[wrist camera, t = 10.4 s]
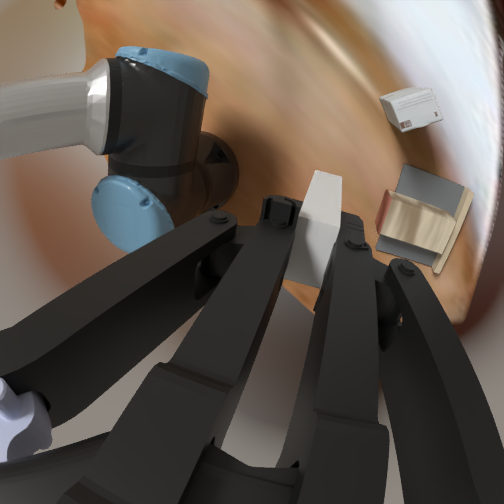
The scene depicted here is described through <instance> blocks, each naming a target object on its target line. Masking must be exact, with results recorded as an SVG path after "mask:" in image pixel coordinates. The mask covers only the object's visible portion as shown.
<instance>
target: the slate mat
mask: <svg viewBox="0 0 504 504" xmlns="http://www.w3.org/2000/svg"><path fill="white" fill-rule="evenodd" d="M395 192H396V193H399V194H402V195H404V196H407V197H410V198H413V199H416V200H419V201H421V202H424V203H427V204H430V205H432V206H435V207H438V208H440V209H443V210H445V211H448V212H449V213H450V215H451V216H452V217H453V219H454V220H455V221H456V224H455V226H454V229H453V231H452V233H451V236H450V238H449V240H448V242H447V244H446V247H445V249H444V251H443V253H442V254H440V253H437V252H434V251H431V250H428V249H425V248H422V247H419V246H416V245H413V244H410V243H407V242H404V241H401V240H398V239H395V238H391V237H388V236H385V235H382V234H381V235H380V237H379V240H378V243H377V245H376V250H380V251H383V252H386V253H390V254H393V255H396V256H400V257H403V258H406V259H410V260H413V261H416V262H419V263H423V264H426V265H429V266H432V269H433V271H434V272H435V273H438V274H439V273H440V271H441V269H442V267H443V265H444V263H445V261H446V259H447V257H448V255H449V253H450V251H451V249H452V247H453V244H454V242H455V240H456V238H457V235H458V233H459V231H460V229H461V226H462V224H463V221H464V219H465V216H466V214H467V211H468V209H469V206H470V204H471V201H472V198H473V196H474V193H473V192H472V191H471V190H470V189H468V188H466V187H464V186H461V185H459V184H456V183H454V182H452V181H449V180H447V179H444V178H442V177H439V176H437V175H434V174H431V173H429V172H426V171H423V170H421V169H418V168H415V167H412V166H409V165H407V164H404V165H403V168H402V172H401V175H400V178H399V181H398V185H397V188H396V191H395Z"/></svg>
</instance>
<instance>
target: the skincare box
mask: <svg viewBox="0 0 504 504" xmlns="http://www.w3.org/2000/svg"><path fill="white" fill-rule="evenodd" d="M379 99H380V101H381V103H382V106H383V108H384V110H385V113H386V115H387V118H388V121H389V122H391V123H392V124H393V125H394V126H396V127H397V128H398V129H399V130H400V131H401V132H406V131H409V130H412V129H415V128H419V127H424V126H427V125H429V124H431V123H435V122H438V121H441V120H443V117H442V114H441V111H440V109H439V106H438V103H437V101H436V98H435V96H434V93H433V91H432V89H431V88H413V87H411V88H406V89H402V90H399V91H395V92H392V93H390V94H387V95H384V96H382V97H379Z"/></svg>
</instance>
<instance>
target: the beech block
mask: <svg viewBox="0 0 504 504" xmlns="http://www.w3.org/2000/svg"><path fill="white" fill-rule="evenodd" d="M375 224H376V229H377V233H379V234H382V235H385V236H388V237H391V238H395V239H398V240H401V241H404V242H407V243H410V244H413V245H416V246H419V247H422V248H425V249H428V250H431V251H434V252H437V253H440V254H442V253H443V251H444V249H445V247H446V244H447V242H448V240H449V238H450V236H451V233H452V231H453V229H454V226H455V224H456V221H455V220H454V219H453V217H452V216H451V215H450V213H449V212H448V211H445V210H443V209H440V208H438V207H435V206H432V205H430V204H427V203H424V202H421V201H419V200H416V199H413V198H410V197H407V196H404V195H402V194H399V193H396V192H393V191H390V190H387V189H386V191H385V194H384V197H383V200H382V203H381V206H380V209H379V212H378V215H377V218H376V220H375Z"/></svg>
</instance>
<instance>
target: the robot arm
mask: <svg viewBox="0 0 504 504" xmlns="http://www.w3.org/2000/svg"><path fill="white" fill-rule="evenodd" d="M115 56H116V58H103V59H101V60H99V61H98V62H97V63H96V64H95V65H94V66H93V67H92V68H91V69H89V70H88V71H86V72H77V73H66V74H57V75H49V76H42V77H35V78H29V79H23V80H17V81H12V82H7V83H3V84H0V160H1V159H6V158H10V157H15V156H19V155H24V154H29V153H34V152H39V151H45V150H50V149H56V148H63V147H69V146H76V145H84V146H86V147H87V148H89V149H90V150H91V151H92V152H93V153H94V154H96V155H107V154H108V155H109V156H108V176H106V177H104V178H103V179H101V180H100V182H99V183H98V185H97V186H96V187H95V189H94V191H93V194H92V199H91V205H92V211H93V215H94V218H95V220H96V223H97V224H98V226H99V228H100V230H101V231H102V233H103V234H105V236H106V237H107V238H108V240H109V241H110V242H111V243H113V244H114V245H115V246H116V247H118V248H119V249H121V250H123V251H125V252H127V253H129V254H128V255H126V256H124V257H123V258H121V259H119V260H118V261H116V262H114V263H112V264H111V265H109V266H107V267H106V268H104V269H102V270H101V271H99V272H97V273H96V274H94V275H92V276H91V277H89V278H87V279H86V280H84V281H83V282H81V283H79V284H77V285H76V286H74V287H73V288H71V289H69V290H68V291H66V292H65V293H63V294H61V295H60V296H58V297H57V298H55V299H53V300H52V301H50V302H49V303H47V304H46V305H44V306H43V307H41V308H40V309H38V310H36V311H35V312H33V313H32V314H30V315H29V316H28V317H26V318H24V319H23V320H22V321H20V322H18V323H17V324H16V325H14V326H13V327H10V328H7V329H4V330H2V331H0V504H383V503H384V497H385V488H386V479H387V470H388V458H389V431H388V429H387V427H386V426H385V425H381V424H379V422H378V416H377V414H378V386H379V377H380V381H381V384H382V389H383V393H384V397H385V401H386V405H387V410H388V414H389V419H390V423H391V428H392V433H393V438H394V443H395V449H396V454H397V460H398V465H399V471H400V477H401V484H402V490H403V498H404V504H504V448H503V446H502V442H501V439H500V436H499V433H498V430H497V427H496V424H495V421H494V418H493V415H492V413H491V410H490V407H489V405H488V402H487V400H486V397H485V395H484V392H483V390H482V387H481V385H480V382H479V380H478V378H477V375H476V373H475V371H474V369H473V367H472V364H471V362H470V360H469V358H468V356H467V354H466V352H465V349H464V347H463V345H462V343H461V341H460V339H459V337H458V335H457V334H456V331H455V330H454V328H453V326H452V324H451V322H450V320H449V318H448V316H447V315H446V313H445V311H444V309H443V307H442V305H441V304H440V302H439V300H438V298H437V297H436V295H435V293H434V292H433V290H432V288H431V286H430V285H429V283H428V281H427V280H426V278H425V277H424V275H423V273H422V272H421V270H420V269H419V268H418V267H417V266H416V265H414V264H413V263H412V262H409V261H408V260H406V259H405V260H404V259H399V258H395V259H392V260H391V262H390V264H389V266H387V265H385V264H383V263H381V262H379V261H377V260H376V259H374V258H373V257H372V249H371V247H370V245H369V244H368V243H367V242H365V235H364V228H363V227H364V226H363V221H362V220H361V219H360V217H359V216H357V215H353V214H350V213H346V212H343V211H341V197H342V177H340V176H337V175H333V174H329V173H326V172H322V171H318V170H315V173H314V175H313V178H312V181H311V183H310V186H309V189H308V192H307V194H306V197H305V200H304V202H303V201H299V200H295V199H291V198H288V197H285V196H279V195H271V196H266V197H265V198H264V199H263V205H262V211H261V217H260V220H259V222H258V223H257V225H256V226H239V225H237V218H236V217H235V216H234V215H233V214H231V213H228V212H225V211H222V210H217V209H219V208H220V207H222V206H223V205H224V204H225V203H226V202H227V201H228V200H229V199H230V198H231V197H232V195H233V194H234V192H235V190H236V187H237V184H238V177H239V171H238V165H237V161H236V158H235V156H234V154H233V152H232V151H231V149H230V148H229V146H228V145H227V144H226V143H225V142H224V141H223V140H221V139H220V138H219V137H217V136H215V135H213V134H211V133H208V132H204V131H201V126H202V120H203V114H204V108H205V102H206V99H208V94H207V88H208V80H209V69H208V67H207V65H206V64H205V63H204V62H202V61H201V60H199V59H197V58H194V57H191V56H187V55H184V54H180V53H176V52H171V51H166V50H161V49H154V48H150V49H148V48H142V47H136V46H125V47H121V48H119V50H118V52H117V53H116V55H115ZM200 214H201V215H200ZM197 215H199V216H197ZM196 216H197V217H196ZM283 278H284V279H287V280H291V281H294V282H298V283H301V284H305V285H309V286H312V287H316V288H319V289H320V288H321V290H320V293H319V295H318V298H317V301H316V304H315V306H314V309H313V311H315V316H314V321H313V326H312V331H311V336H310V341H309V346H308V350H307V355H306V359H305V364H304V368H303V373H302V377H301V381H300V385H299V389H298V394H297V398H296V402H295V406H294V410H293V414H292V417H291V421H290V425H289V428H288V432H287V436H286V440H285V443H284V446H283V450H282V453H281V456H280V458H279V460H278V462H277V464H276V467H275V468H264V467H251V466H248V465H246V464H244V463H243V462H241V461H239V460H237V459H236V458H234V457H232V456H231V455H229V454H227V453H226V452H224V451H222V450H221V446H222V443H223V440H224V438H225V435H226V432H227V430H228V428H229V425H230V423H231V420H232V418H233V415H234V413H235V410H236V408H237V405H238V402H239V400H240V397H241V395H242V392H243V390H244V387H245V385H246V382H247V379H248V377H249V374H250V372H251V369H252V366H253V364H254V361H255V358H256V356H257V353H258V350H259V347H260V345H261V342H262V339H263V337H264V334H265V331H266V328H267V326H268V323H269V320H270V317H271V315H272V312H273V309H274V306H275V303H276V301H277V298H278V295H279V292H280V289H281V286H282V282H283ZM322 282H323V283H322ZM321 285H322V287H321ZM205 304H206V305H205ZM204 305H205V306H204ZM203 306H204V308H203V309H202V311H201V312H200V314H199V316H198V317H197V319H196V320H195V322H194V324H193V325H192V327H191V329H190V330H189V331H188V333H187V335H186V337H185V338H184V340H183V341H182V343H181V344H180V346H179V348H178V349H177V351H176V352H175V354H174V356H173V357H172V358H171V360H170V361H169V362H168V363H162V362H159V363H158V364H156V365H155V366H154V367H153V368H152V369H151V371H150V372H149V373H148V375H147V376H146V378H145V379H144V381H143V382H142V384H141V385H140V387H139V388H138V390H137V391H136V393H135V395H134V396H133V398H132V399H131V401H130V402H129V404H128V405H127V407H126V408H125V410H124V411H123V413H122V415H121V416H120V418H119V419H118V421H117V422H116V424H115V425H114V427H113V429H112V430H111V431H110V432H106V433H102V434H100V435H97V436H94V437H91V438H88V439H85V440H82V441H79V442H76V443H73V444H70V445H66V446H63V447H60V448H57V449H53V450H49V451H46V452H42V453H38V454H35V455H33V454H34V452H36V451H37V450H39V449H43V450H44V449H47V448H49V447H50V446H51V443H52V435H51V429H52V428H54V427H57V426H59V425H61V424H63V423H65V422H67V421H68V420H70V419H72V418H73V417H75V416H76V415H77V414H79V413H80V412H82V411H83V410H84V409H86V408H87V407H88V406H89V405H90V404H92V403H93V402H94V401H95V400H96V399H97V398H98V397H100V396H101V395H102V394H103V393H104V392H105V391H107V390H108V389H109V388H110V387H111V386H112V385H114V384H115V383H116V382H117V381H118V380H119V379H120V378H122V377H123V376H124V375H125V374H126V373H127V372H129V371H130V370H131V369H132V368H133V367H134V366H136V365H137V364H138V363H139V362H140V361H141V360H142V359H144V358H145V357H146V356H147V355H148V354H149V353H150V352H152V351H153V350H154V349H155V348H156V347H157V346H159V345H160V344H161V343H162V342H163V341H164V340H165V339H167V338H168V337H169V336H170V335H171V334H172V333H173V332H175V331H176V330H177V329H178V328H179V327H180V326H181V325H183V324H184V323H185V322H186V321H187V320H188V319H189V318H191V317H192V316H193V315H194V314H195V313H196V312H197V311H198V310H199V309H201V308H202V307H203ZM401 317H402V324H401V322H400V319H401Z"/></svg>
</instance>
